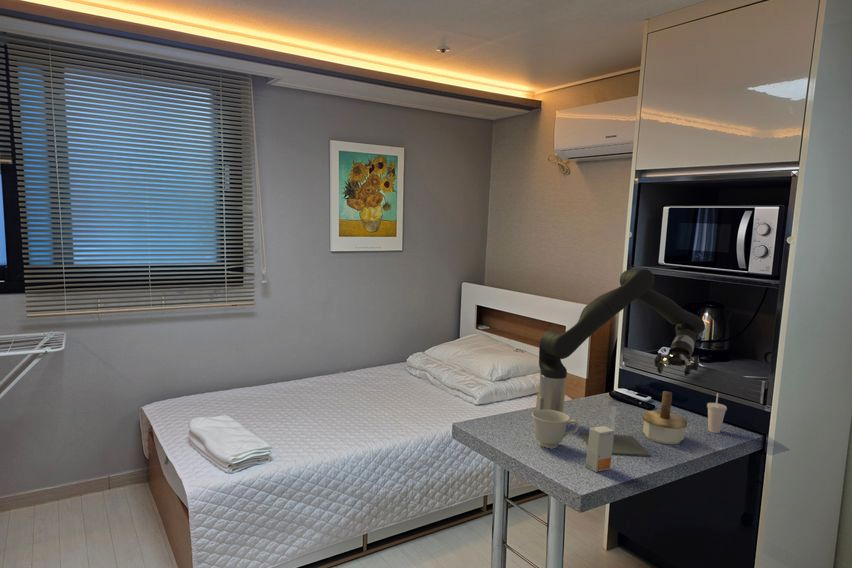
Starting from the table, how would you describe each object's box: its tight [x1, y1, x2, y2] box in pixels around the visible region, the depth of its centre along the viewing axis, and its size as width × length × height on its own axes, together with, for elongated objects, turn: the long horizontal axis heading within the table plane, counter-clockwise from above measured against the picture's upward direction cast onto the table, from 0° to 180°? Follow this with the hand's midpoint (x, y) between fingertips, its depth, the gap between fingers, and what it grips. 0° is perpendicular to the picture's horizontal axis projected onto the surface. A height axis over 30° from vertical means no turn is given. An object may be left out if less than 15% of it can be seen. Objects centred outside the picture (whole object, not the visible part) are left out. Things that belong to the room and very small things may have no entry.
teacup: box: [531, 409, 580, 449], centre depth 178 cm, size 12×15×10 cm
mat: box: [579, 432, 652, 457], centre depth 183 cm, size 18×16×1 cm
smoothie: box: [706, 392, 728, 434], centre depth 201 cm, size 6×6×14 cm
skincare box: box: [585, 425, 615, 473], centre depth 163 cm, size 6×4×12 cm
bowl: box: [642, 419, 686, 446], centre depth 191 cm, size 12×12×6 cm
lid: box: [642, 390, 688, 429], centre depth 190 cm, size 14×14×10 cm
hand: (672, 372), depth 195 cm, fingers open, 8 cm apart
